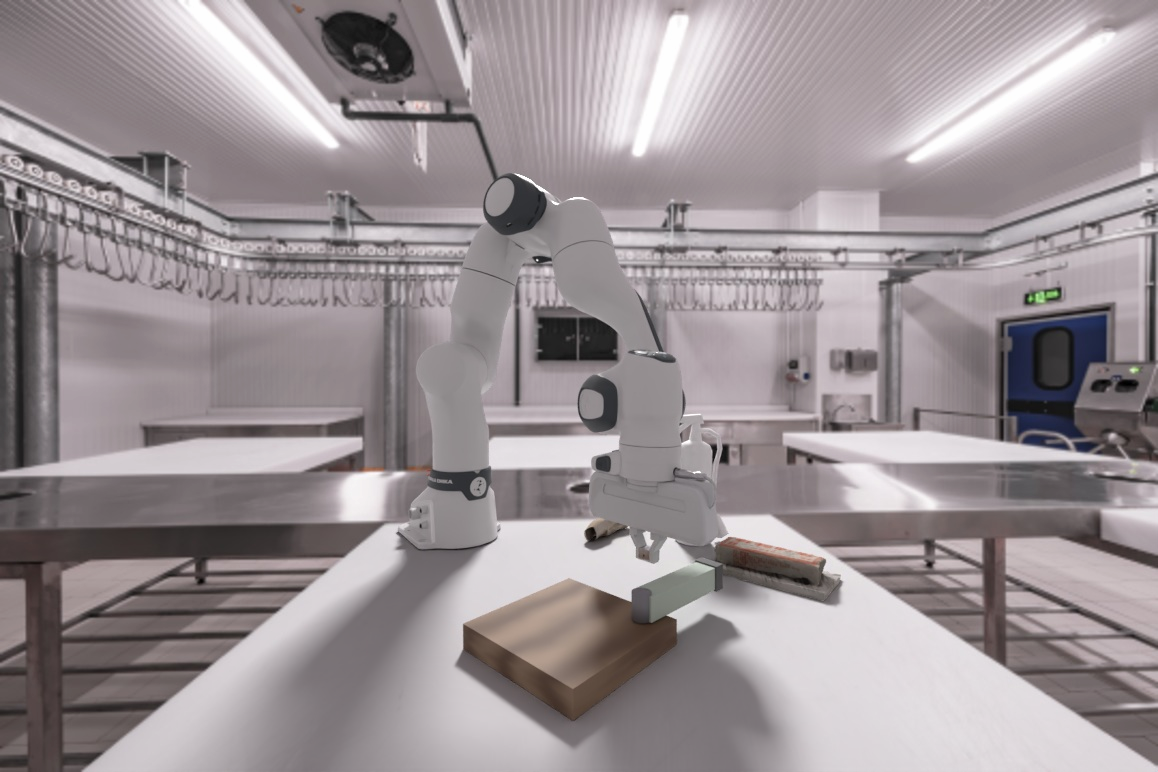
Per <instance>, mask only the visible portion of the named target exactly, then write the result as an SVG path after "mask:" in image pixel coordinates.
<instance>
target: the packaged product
mask: <svg viewBox="0 0 1158 772" xmlns="http://www.w3.org/2000/svg"><path fill="white" fill-rule="evenodd" d="M714 553H715V555H714V561H715V562H718V563H722V564H723V576H724V575H726V576H728V577H733V578H735V579H739V580H742V581H745V580H746V581H747V582H750V583H754V584H757V585H760V586H764V587H767V588H772V589H776V590H778V589H780V590H779V591H783V592H787V593H790V594H795V595H798V594H799V596H802V595H803V597H806V596H807V597H806V598H809V597H811V598H810V599H813V598H815V599H814V600H817V599H819V600H818V601H821V600H824V601H826V599H827V598H828V597H829V596H830V595H829V594H831V593H832V592H833V591H834V590H835V589H836V588H837V586H838V585H839V584H838V583H840V582H841V576H842V575H841V574H838V573H830V572H828V571H825V570H824V569H825V566H826V563H827V558H824V557H821V556H818V555H814V554H810V553H805V552H801V551H798V550H792V549H787V548H784V547H779V546H775V545H770V544H766V543H762V542H759V541H758V542H756V541H753V540H749V539H744V538H740V537H735V536H728V537H726V538H725V539H722V540H721V541H720V542H718V543H717V544H716V545H715V546H714ZM834 588H835V589H834ZM833 589H834V590H833ZM832 590H833V591H832ZM831 591H832V592H831ZM830 592H831V593H830ZM828 595H829V596H828Z"/></svg>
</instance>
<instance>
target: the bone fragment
mask: <svg viewBox="0 0 1158 772" xmlns="http://www.w3.org/2000/svg"><path fill="white" fill-rule="evenodd" d="M628 527H629V526H626V525H623V524H619V523H616V522H612V521H609V520H605V519H602V518H598V517H597V518H595V519H594V520H593V521H592V522H590V523H589V525H588V526H587V527H586V529H584V532H583V533H584V534H583V535H584V538H585V540H586V541H587V542H590V541H591V540H592V539H593V538H594V537H595V536H596V537H595V539H594V541H596V540H598V538H600V537H605V536H606V537H607V536H610V535H612V534H615V532H617V531H619V529H620V530H624V529H623V528H626V529H628ZM595 534H596V535H595ZM592 537H593V538H592ZM591 538H592V539H591ZM590 539H591V540H590Z"/></svg>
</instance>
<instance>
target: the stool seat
mask: <svg viewBox="0 0 1158 772" xmlns="http://www.w3.org/2000/svg"><path fill="white" fill-rule="evenodd" d="M677 626H678V620H677V618H675V617H671V616H669V615H666V616H664V617H662V618H660V619H658V620H656V621H654V622H652V623H650V622H648V623H637V622H634V621H633V620H632V601H631V600H627V599H624V598H623V597H619V596H617V595H614V594H611V593H609V592H607V591H605V590H602V589H599V588H596V587H594V586H591V585H588V584H586V583H583V582H580V581H578V580H576V579H572V578H570V577H568V578H567V579H564V580H561V581H560V582H557V583H555V584H552V585H550V586H548V587H545V588H543V589H540V590H539V591H536V592H534V593H531V594H529V595H527V596H524V597H522V598H520V599H517V600H515V601H513V602H510V603H508V604H506V605H504V606H501V607H499V608H496V609H494V610H492V611H490V612H486V613H485V614H482V615H480V616H478V617H476V618H473V619H470V620H468V621H466V622H464V623H462V646H463V647H462V648H463V650H464V651H466V652H467V653H469V654H470V655H472V656H474V657H475V658H476V659H478V660H479V661H481V662H482V663H483V664H486V665H487V666H489V667H490V668H492V669H494V670H495V671H496V672H497V673H500V674H501V675H502V676H505V678H507V679H509V680H510V681H511V682H512V683H515V684H516V685H517V686H519V687H521V688H522V689H524V690H525V691H527V692H528V693H530V694H532V696H535V698H537V699H539V700H540V701H542V702H544V703H545V704H547V705H548V706H550V707H551V708H552V709H554V710H556V711H557V712H559V713H560V714H561V715H563V716H565V717H567V718H568V719H569V720H571V721H573V722H574V721H575V720H577V719H578V718H579V717H581V716H583V714H584V713H586V712H587V711H588V710H590V709H591V708H593V707H594V706H596V705H597V704H598V703H599V702H601V701H602V700H604V699H605V698H606V697H607V696H609V695H610V694H611V693H613V692H615V690H617V689H619V688H620V687H621V686H623V684H625V683H626V682H628V681H629V680H630V679H632V678H633V677H635V676H636V675H637V674H639V673H640V672H641V671H643V670H645V668H647V667H649V666H650V665H651V664H652V663H654V662H655V661H656V660H657V659H659V658H660V657H663V655H664V654H666V653H667V652H668V651H670V650H671V649H672V648H674V647H675V646H676V645H678V643H677V642H678V628H677Z"/></svg>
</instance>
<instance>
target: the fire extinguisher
mask: <svg viewBox="0 0 1158 772" xmlns="http://www.w3.org/2000/svg"><path fill="white" fill-rule="evenodd" d="M704 424H705V422H704V418H703V415H702V414H701V413H692V414H684V415H683V417H682V419H681V421H680V424H679V433H680V434H681V433H682V432H684V430H685V429H687V428H688V427H689V426H690V432H689V437H688V440H686V441H685V440H684V441H683V442H682V448H681V469H684V470H689V471H692V472H702V473H705V474H706V475H707V477H709V478H710V479H711V480H712V481H713V482H714V483H715V485H716V486H717V481H718V476H719V475H718V473H719V465H720V464H719V463H720V461H721V456H722V452H723V441H722V436H721V435H722V434H720V433H719V432H717V431H715V430H714V429H712V428H709V427H707V428H706V427H702V426H701V425H704ZM702 434H709V435H711V436H712V437H714V438H716V449H717V450H716V453H715V458H714V461H713V449H712V447H711V445H710V444H709V443H707V442H705V441H703V436H702ZM706 482H709V481H708V480H706ZM717 522H718V535H717V537H716V538H717V539H722V538H724V537H726V536H727V535H729V532H728V530H727V527H726V525H725V523H724V521H723V519H722V517H721V515H720V514H718V513H717ZM716 538H715V539H716ZM675 541H676V542H677V543H679V544H682V545H685V546H691V547H698V546H697V545H693V544H690V543H686V542H683V541H679V540H676V539H675Z"/></svg>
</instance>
